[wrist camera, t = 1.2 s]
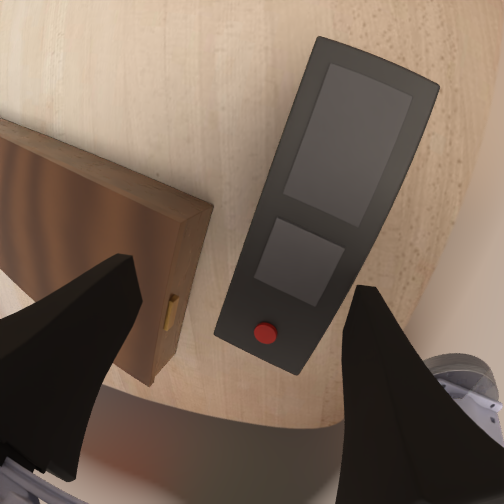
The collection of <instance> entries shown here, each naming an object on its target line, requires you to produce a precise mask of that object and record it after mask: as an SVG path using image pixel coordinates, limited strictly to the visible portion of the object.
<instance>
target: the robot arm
mask: <svg viewBox="0 0 504 504" xmlns="http://www.w3.org/2000/svg"><path fill="white" fill-rule="evenodd" d="M142 302H143V300H142V295H141V291H140V287H139V283H138V278H137V274H136V269H135V264H134V260H133V255H126V254H120V253H117V254H115V255H113V256H111V257H109V258H107V259H106V260H104V261H102V262H101V263H99V264H97V265H96V266H94V267H93V268H91V269H89V270H88V271H86V272H85V273H83V274H81V275H80V276H78V277H77V278H75V279H74V280H72V281H70V282H69V283H67V284H66V285H64V286H62V287H61V288H59V289H57V290H56V291H54V292H52V293H51V294H49V295H47V296H46V297H44V298H42V299H41V300H39V301H37V302H35V303H33V304H32V305H30V306H28V307H26V308H24V309H22V310H20V311H18V312H16V313H14V314H11V315H9V316H7V317H4V318H2V319H0V504H40V502H39V499H38V498H40V499H41V500H43V501H44V502H46V503H48V504H88V503H86V502H84V501H82V500H80V499H78V498H76V497H74V496H72V495H70V494H68V493H66V492H64V491H62V490H60V489H59V488H57V487H55V486H53V485H52V484H50V483H48V482H46V481H45V480H43V479H41V478H40V477H38V476H36V475H35V474H33V471H34V469H36V470H38V471H39V472H41V473H43V474H44V473H45V472H46V471H47V472H49V473H51V474H53V475H55V476H56V477H58V478H60V479H62V480H64V481H66V482H71V481H73V480H75V479H76V474H77V467H78V462H79V456H80V451H81V446H82V443H83V439H84V434H85V431H86V427H87V424H88V421H89V418H90V415H91V411H92V408H93V405H94V403H95V400H96V397H97V395H98V392H99V390H100V387H101V385H102V382H103V380H104V378H105V376H106V374H107V372H108V370H109V369H110V367H111V365H112V363H113V361H114V360H115V358H116V356H117V354H118V352H119V351H120V349H121V347H122V345H123V343H124V342H125V340H126V338H127V336H128V334H129V333H130V331H131V329H132V327H133V325H134V323H135V320H136V318H137V315H138V313H139V310H140V308H141V305H142ZM341 360H342V377H343V394H344V416H345V433H344V444H343V455H342V463H341V472H340V478H339V485H338V491H337V497H336V502H335V504H504V441H503V436H502V432H501V427H500V422H499V418H498V414H497V413H498V412H499V411H500V410H501V409H502V407H503V405H502V403H501V402H499V401H496V400H494V399H491V398H488V397H486V396H483V395H481V394H478V393H476V392H473V391H471V390H468V389H466V388H463V387H461V386H459V385H456V384H454V383H451V382H449V381H446V380H444V379H441V378H438V379H436V378H435V377H434V376H433V374H432V373H431V372H430V370H429V369H428V368H427V366H426V365H425V364H424V362H423V361H422V359H421V358H420V357H419V355H418V354H417V352H416V351H415V349H414V348H413V346H412V345H411V343H410V342H409V340H408V338H407V337H406V335H405V334H404V332H403V331H402V329H401V327H400V326H399V324H398V323H397V321H396V319H395V318H394V316H393V314H392V313H391V311H390V309H389V308H388V306H387V304H386V303H385V301H384V299H383V297H382V296H381V294H380V293H379V291H378V289H377V288H376V287H372V286H364V285H357V286H356V289H355V293H354V296H353V300H352V303H351V306H350V310H349V313H348V316H347V319H346V322H345V326H344V329H343V336H342V359H341ZM441 385H443V386H441Z"/></svg>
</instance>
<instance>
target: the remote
mask: <svg viewBox="0 0 504 504" xmlns="http://www.w3.org/2000/svg"><path fill="white" fill-rule="evenodd" d="M439 90H440V86H439V85H438V84H437V83H435V82H433V81H431V80H429V79H427V78H425V77H423V76H421V75H419V74H417V73H415V72H413V71H410V70H408V69H406V68H404V67H402V66H399V65H397V64H395V63H393V62H390V61H388V60H385V59H383V58H381V57H378V56H376V55H373V54H370V53H368V52H365V51H363V50H360V49H357V48H354V47H352V46H349V45H346V44H343V43H340V42H337V41H334V40H331V39H328V38H325V37H321V36H318V37H317V38H316V41H315V44H314V47H313V49H312V52H311V55H310V58H309V61H308V63H307V66H306V69H305V72H304V74H303V77H302V80H301V83H300V86H299V88H298V91H297V94H296V97H295V100H294V102H293V105H292V108H291V111H290V114H289V116H288V119H287V122H286V125H285V128H284V130H283V133H282V136H281V139H280V142H279V145H278V147H277V150H276V153H275V156H274V159H273V162H272V164H271V167H270V170H269V173H268V176H267V179H266V182H265V184H264V187H263V190H262V193H261V196H260V199H259V202H258V205H257V207H256V210H255V213H254V216H253V219H252V222H251V225H250V228H249V231H248V233H247V236H246V239H245V242H244V245H243V248H242V251H241V254H240V257H239V260H238V263H237V265H236V268H235V271H234V274H233V277H232V280H231V283H230V286H229V289H228V292H227V295H226V298H225V301H224V304H223V307H222V310H221V312H220V315H219V318H218V321H217V324H216V327H215V330H214V335H215V336H217V337H219V338H220V339H222V340H224V341H226V342H228V343H230V344H232V345H234V346H236V347H238V348H240V349H242V350H244V351H246V352H248V353H250V354H252V355H254V356H256V357H258V358H260V359H262V360H264V361H266V362H268V363H270V364H273V365H275V366H277V367H279V368H281V369H283V370H285V371H287V372H290V373H292V374H294V375H299V373H300V372H301V370H302V369H303V367H304V366H305V364H306V363H307V361H308V359H309V358H310V356H311V355H312V353H313V351H314V350H315V348H316V346H317V345H318V343H319V342H320V340H321V338H322V337H323V335H324V333H325V332H326V330H327V328H328V327H329V325H330V323H331V322H332V320H333V318H334V316H335V315H336V313H337V311H338V309H339V308H340V306H341V304H342V302H343V301H344V299H345V297H346V295H347V293H348V292H349V290H350V288H351V286H352V284H353V283H354V281H355V279H356V277H357V275H358V273H359V271H360V270H361V268H362V266H363V264H364V262H365V260H366V258H367V256H368V254H369V252H370V250H371V248H372V246H373V244H374V242H375V241H376V239H377V237H378V234H379V232H380V230H381V228H382V226H383V224H384V222H385V220H386V218H387V216H388V214H389V212H390V210H391V207H392V205H393V203H394V201H395V199H396V197H397V194H398V192H399V190H400V188H401V186H402V183H403V181H404V179H405V177H406V174H407V172H408V170H409V167H410V165H411V163H412V160H413V158H414V155H415V153H416V150H417V148H418V146H419V143H420V141H421V138H422V136H423V133H424V130H425V128H426V125H427V123H428V120H429V117H430V115H431V112H432V109H433V106H434V104H435V101H436V98H437V95H438V92H439Z"/></svg>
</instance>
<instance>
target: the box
mask: <svg viewBox="0 0 504 504" xmlns="http://www.w3.org/2000/svg"><path fill="white" fill-rule="evenodd" d="M212 209H213V205H212V204H209V203H207V202H205V201H202V200H200V199H198V198H195V197H193V196H191V195H189V194H186V193H184V192H182V191H179V190H177V189H175V188H172V187H170V186H168V185H165V184H163V183H161V182H158V181H156V180H153V179H151V178H149V177H146V176H144V175H142V174H139V173H137V172H134V171H132V170H130V169H127V168H125V167H122V166H120V165H118V164H115V163H113V162H110V161H108V160H105V159H103V158H101V157H98V156H96V155H93V154H91V153H88V152H86V151H83V150H81V149H78V148H76V147H73V146H71V145H68V144H66V143H63V142H61V141H58V140H56V139H53V138H51V137H48V136H46V135H43V134H41V133H38V132H35V131H33V130H30V129H28V128H25V127H23V126H20V125H17V124H15V123H12V122H9V121H7V120H4V119H2V118H0V269H1V270H2V271H3V272H4V273H5V274H6V275H7V276H8V277H9V278H10V279H11V280H12V281H13V282H14V283H15V284H17V285H18V286H19V287H20V288H21V289H22V290H23V291H24V292H25V293H26V294H27V295H28V296H29V297H31V298H32V299H33V300H34V301H35V302H37V301H39V300H41V299H42V298H44V297H46V296H47V295H49V294H51V293H52V292H54V291H56V290H57V289H59V288H61V287H62V286H64V285H66V284H67V283H69V282H70V281H72V280H74V279H75V278H77V277H78V276H80V275H81V274H83V273H85V272H86V271H88V270H89V269H91V268H93V267H94V266H96V265H97V264H99V263H101V262H102V261H104V260H106V259H107V258H109V257H111V256H113V255H115V254H117V253H120V254H126V255H133V260H134V264H135V269H136V274H137V278H138V283H139V287H140V291H141V295H142V300H143V302H142V305H141V308H140V310H139V313H138V315H137V318H136V320H135V323H134V325H133V327H132V329H131V331H130V333H129V334H128V336H127V338H126V340H125V342H124V343H123V345H122V347H121V349H120V351H119V352H118V354H117V356H116V358H115V360H114V361H113V363H114V364H115V365H116V366H118V367H119V368H121V369H122V370H124V371H125V372H127V373H128V374H130V375H131V376H133V377H134V378H136V379H137V380H139V381H140V382H142V383H143V384H145V385H147V386H148V387H150V386H151V385H152V384H153V383H154V378H155V376H156V375H157V374H158V373H159V372H160V370H161V369H162V368H163V367H164V366H165V365H166V364H167V362H168V361H169V360H170V359H171V358H172V357H173V356H174V354H175V352H176V348H177V343H178V339H179V335H180V331H181V327H182V322H183V318H184V314H185V310H186V306H187V302H188V298H189V294H190V290H191V287H192V283H193V279H194V275H195V271H196V267H197V264H198V260H199V256H200V253H201V249H202V245H203V242H204V238H205V234H206V231H207V227H208V224H209V220H210V216H211V213H212Z"/></svg>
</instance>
